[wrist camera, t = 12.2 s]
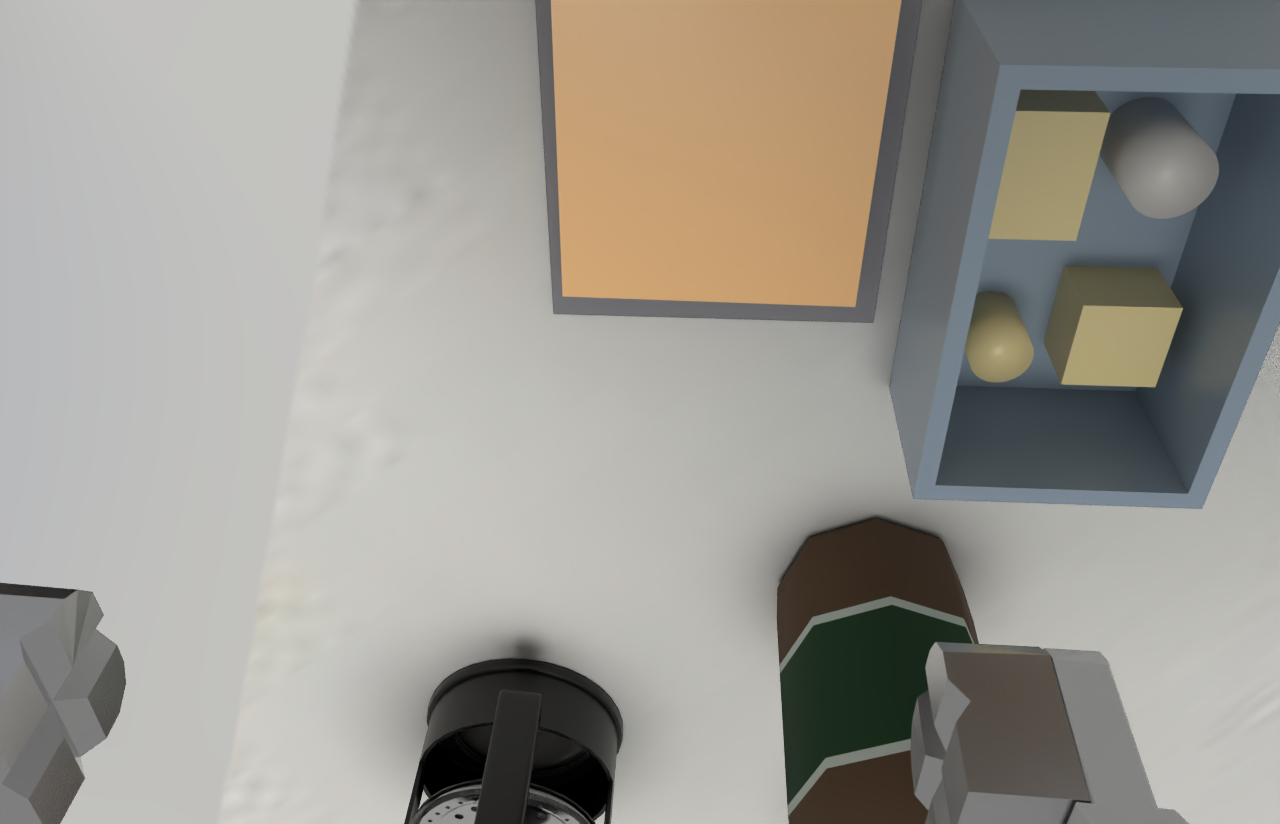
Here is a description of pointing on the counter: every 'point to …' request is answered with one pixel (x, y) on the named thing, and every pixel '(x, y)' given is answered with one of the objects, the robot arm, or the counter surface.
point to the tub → (1092, 251)
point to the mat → (753, 311)
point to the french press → (516, 748)
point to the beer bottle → (861, 667)
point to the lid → (718, 146)
